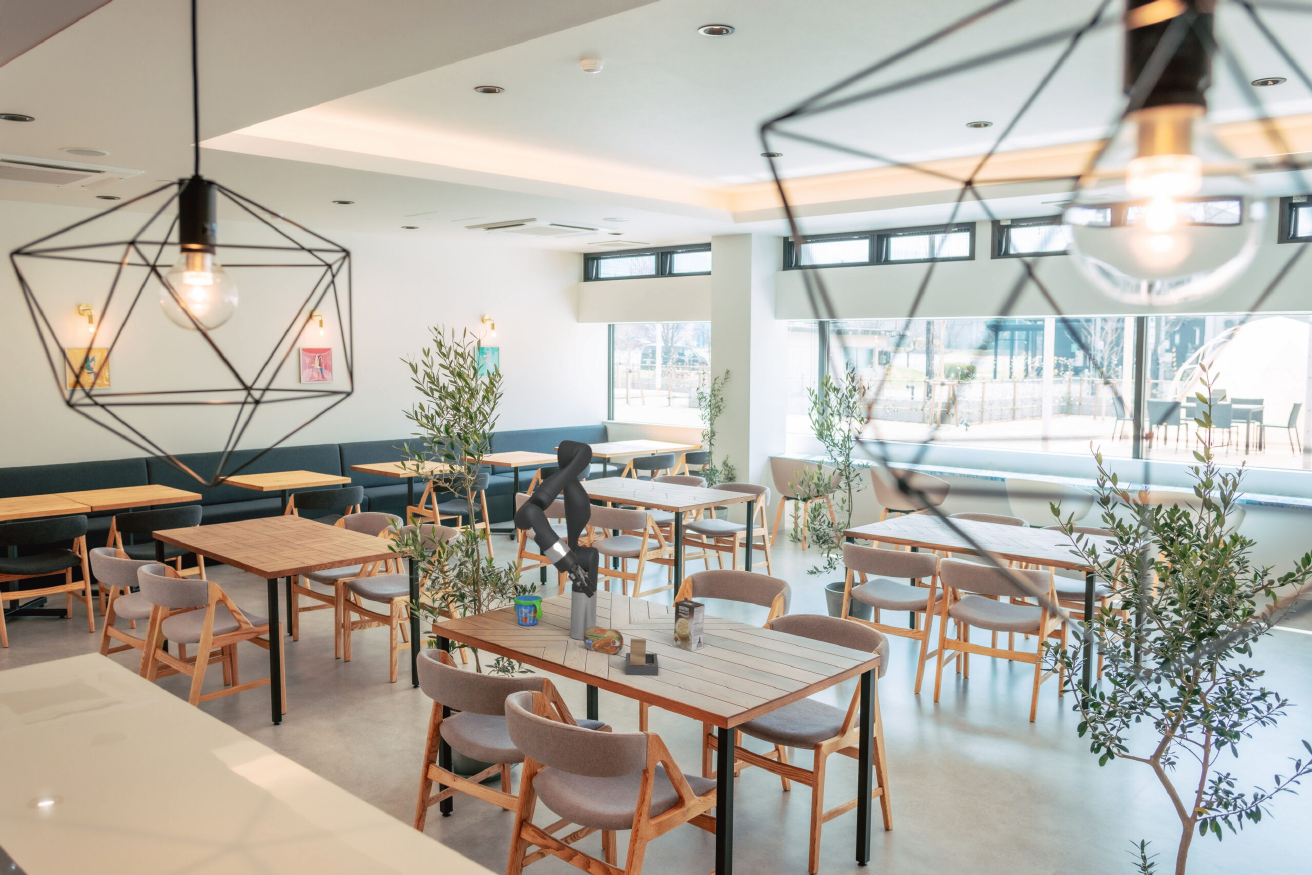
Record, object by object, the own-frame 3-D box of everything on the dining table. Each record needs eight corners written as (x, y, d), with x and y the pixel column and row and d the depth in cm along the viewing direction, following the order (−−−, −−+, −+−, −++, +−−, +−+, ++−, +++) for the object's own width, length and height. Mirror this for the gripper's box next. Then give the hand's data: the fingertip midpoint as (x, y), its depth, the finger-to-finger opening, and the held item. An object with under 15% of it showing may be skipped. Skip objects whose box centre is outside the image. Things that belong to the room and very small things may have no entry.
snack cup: (505, 621, 356) (506, 595, 355) (529, 617, 362) (530, 592, 361) (525, 630, 343) (525, 603, 343) (549, 626, 349) (550, 600, 349)
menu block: (629, 666, 303) (630, 638, 303) (644, 667, 304) (645, 638, 303) (629, 670, 300) (630, 641, 299) (645, 670, 300) (645, 641, 300)
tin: (582, 649, 322) (583, 625, 321) (587, 647, 324) (588, 623, 324) (619, 656, 315) (620, 632, 314) (624, 654, 317) (625, 630, 317)
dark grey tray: (625, 661, 309) (626, 652, 309) (656, 662, 309) (656, 653, 309) (625, 674, 295) (625, 665, 295) (657, 675, 295) (658, 666, 295)
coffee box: (672, 645, 329) (674, 601, 328) (684, 642, 334) (685, 598, 333) (692, 651, 323) (693, 606, 322) (703, 648, 328) (705, 603, 327)
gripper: (568, 553, 293) (600, 591, 295) (570, 543, 307) (601, 579, 309) (550, 568, 293) (582, 606, 295) (553, 557, 307) (584, 593, 309)
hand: (592, 592), depth 302 cm, fingers open, 8 cm apart
